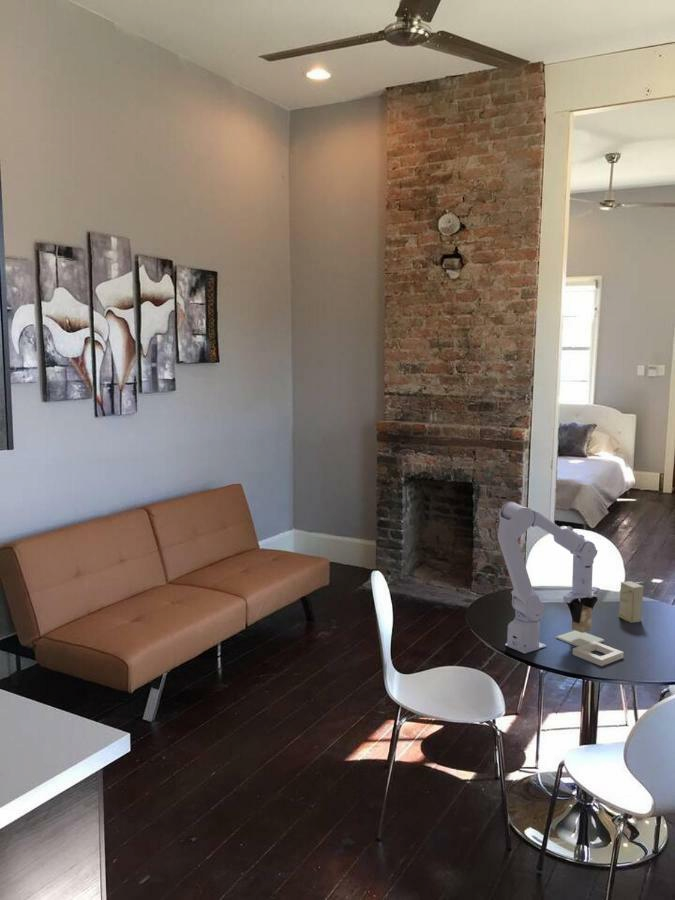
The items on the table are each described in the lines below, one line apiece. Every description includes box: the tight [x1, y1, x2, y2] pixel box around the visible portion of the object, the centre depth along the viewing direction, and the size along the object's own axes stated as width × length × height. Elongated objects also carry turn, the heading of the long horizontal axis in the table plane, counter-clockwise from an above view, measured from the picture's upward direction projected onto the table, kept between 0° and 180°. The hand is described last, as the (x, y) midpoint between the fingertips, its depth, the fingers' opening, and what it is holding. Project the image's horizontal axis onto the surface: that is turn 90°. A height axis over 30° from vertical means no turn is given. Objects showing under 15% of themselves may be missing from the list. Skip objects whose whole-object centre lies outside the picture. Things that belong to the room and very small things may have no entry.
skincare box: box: [618, 580, 645, 624], centre depth 244 cm, size 6×4×12 cm
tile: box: [555, 630, 605, 647], centre depth 228 cm, size 10×10×1 cm
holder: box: [572, 641, 625, 667], centre depth 215 cm, size 10×10×2 cm
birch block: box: [571, 605, 593, 633], centre depth 227 cm, size 4×4×7 cm
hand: (580, 620), depth 227 cm, fingers closed on birch block, 4 cm apart
